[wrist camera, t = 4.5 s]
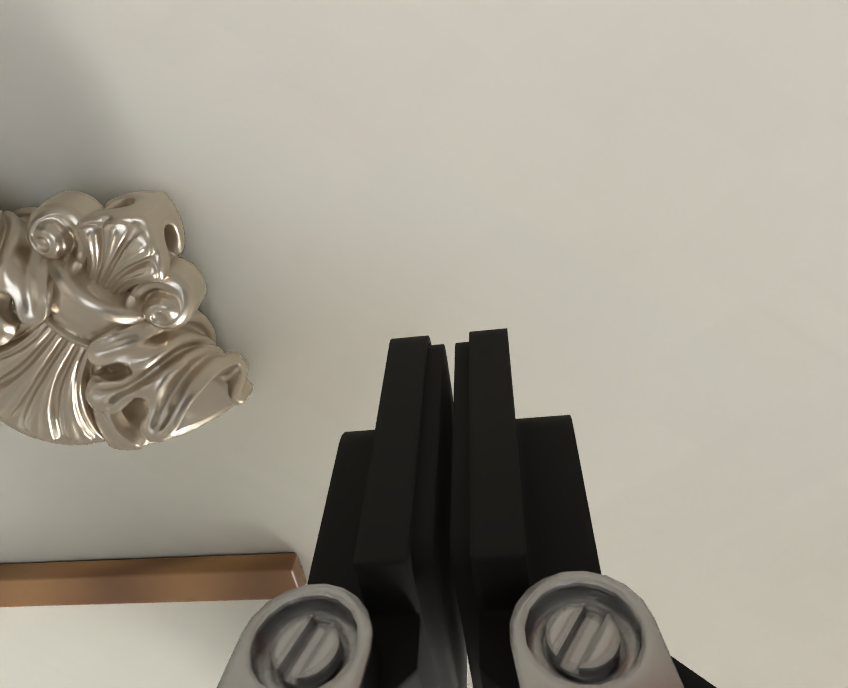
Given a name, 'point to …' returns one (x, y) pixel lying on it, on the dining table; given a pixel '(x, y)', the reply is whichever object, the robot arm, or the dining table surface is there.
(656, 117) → the dining table surface
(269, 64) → the dining table surface
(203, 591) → the spoon
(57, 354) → the ornament
